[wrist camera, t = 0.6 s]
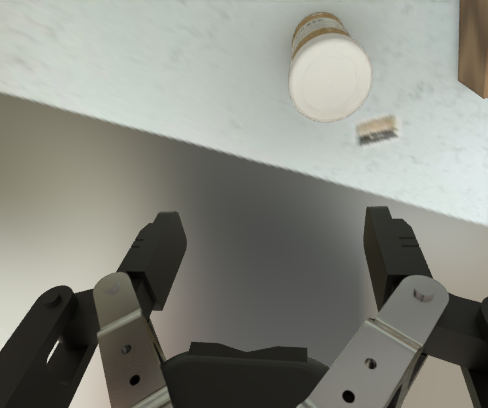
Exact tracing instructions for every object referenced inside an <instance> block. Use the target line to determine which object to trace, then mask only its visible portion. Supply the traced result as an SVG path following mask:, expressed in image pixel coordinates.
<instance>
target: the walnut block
mask: <svg viewBox="0 0 488 408" xmlns="http://www.w3.org/2000/svg"><path fill="white" fill-rule="evenodd" d="M458 81H459V82H461V83H462V84H464V85H465V86H466V87H468V88H469V89H471V90H472V91H473V92H475V93H476V94H478V95H479V96H480V97H482V98H483V99H485V98H488V0H460V22H459V66H458Z"/></svg>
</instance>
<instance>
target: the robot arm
mask: <svg viewBox="0 0 488 408" xmlns="http://www.w3.org/2000/svg"><path fill="white" fill-rule="evenodd" d="M363 238H364V239H363V241H364V250H365V255H366V260H367V264H368V268H369V273H370V278H371V282H372V286H373V291H374V295H375V300H376V304H377V309H378V314H377V316H376V317H375V318H374V319H371V318H369V319H367V320H366V321H365V322H364V324H363V325H362V326H361V328H360V329H359V330H358V332H357V333H356V334H355V336H354V337H353V338H352V339H351V341H350V342H349V343H348V345H347V346H346V347H345V349H344V350H343V352H342V353H341V354H340V355H339V357H338V358H337V360H336V361H335V362H334V363H333V365H332V366H331V367H330V368H329V367H328V366H326V365H324V364H323V363H321V362H319V361H317V360H315V359H312V358H309V357H307V348H300V347H280V346H278V347H272V348H266V349H262V350H256V351H251V352H244V351H240V350H237V349H234V348H231V347H228V346H225V345H222V344H219V343H203V342H191V345H190V349H189V351H187V352H184V353H181V354H178V355H176V356H174V357H172V358H170V359H169V360H166V358H165V356H164V353H163V351H162V348H161V346H160V343H159V340H158V337H157V335H156V333H155V330H154V327H153V324H152V322H151V319H150V314H151V312H152V310H155V311H162V310H163V307H164V305H165V302H166V300H167V297H168V295H169V292H170V290H171V287H172V284H173V282H174V279H175V277H176V274H177V272H178V269H179V267H180V264H181V261H182V259H183V256H184V254H185V251H186V247H187V239H186V235H185V232H184V229H183V226H182V223H181V220H180V217H179V214H178V212H176V211H175V212H160V213H158V215H157V217H156V219H155V220H154V222H153V223H149V224H148V225H147V226H145V227H144V228H143V229H142V230H141V231H140V232H139V234H138V236H137V237H136V239H135V241H134V242H133V244H132V246H131V248H130V250H129V251H128V253H127V255H126V256H125V258H124V259H123V261H122V263H121V265H120V267H119V268H118V270H117V271H116V273H112V274H109V275H107V276H105V277H104V278H102V279H101V280H100V281H99V282H98V283H97V284H96V285H95V287H94V289H90V290H86V291H82V292H79V293H73V291H72V289H71V288H70V287H68V286H63V285H62V286H57V287H54V288H51V289H50V290H48V291H46V292H45V293H43V294H42V295H41V296H40V297H39V298H38V299H37V300H36V302H35V303H34V305H33V306H32V307H31V309H30V310H29V312H28V313H27V314H26V316H25V317H24V319H23V320H22V322H21V323H20V324H19V326H18V327H17V329H16V330H15V331H14V333H13V334H12V336H11V337H10V338H9V340H8V341H7V343H6V344H5V345H4V347H3V348H2V350H1V351H0V408H68V407H69V405H70V403H71V401H72V399H73V397H74V394H75V392H76V390H77V388H78V386H79V384H80V382H81V379H82V377H83V375H84V373H85V371H86V368H87V366H88V364H89V362H90V360H91V358H92V356H93V354H94V351H95V349H96V347H97V345H98V343H99V348H100V353H101V358H102V363H103V368H104V373H105V378H106V383H107V388H108V393H109V398H110V403H111V408H401V406H402V404H403V401H404V399H405V397H406V395H407V393H408V391H409V389H410V388H411V386H412V384H413V382H414V381H415V379H416V377H417V375H418V373H419V371H420V370H421V368H422V366H423V364H424V363H425V361H426V359H427V357H428V355H430V356H433V357H436V358H439V359H442V360H445V361H448V362H451V363H454V364H457V365H460V366H461V370H462V373H463V376H464V379H465V382H466V385H467V388H468V391H469V394H470V397H471V400H472V403H473V406H474V408H488V297H487V298H485V299H484V300H483V301H482V303H480V302H476V301H472V300H469V299H465V298H461V297H458V296H455V295H453V294H450V293H448V292H447V290H446V288H445V287H444V286H443V285H442V284H440V283H439V282H438V281H436V280H434V279H433V277H432V275H431V272H430V270H429V268H428V265H427V263H426V260H425V259H424V256H423V253H422V251H421V249H420V247H419V244H418V242H417V240H416V237H415V234H414V232H413V230H412V228H411V226H410V225H408V224H407V223H406V222H405V221H404V220H403V219H392V217H391V215H390V212H389V209H388V207H387V206H379V207H378V206H377V207H367V209H366V217H365V227H364V237H363ZM57 340H58V341H59V343H58V345H57V347H56V349H55V351H54V353H53V354H52V356H51V358H50V359H49V361H48V363H47V358H48V356H49V354H50V352H51V351H52V349H53V347H54V345H55V344H56V342H57ZM46 364H47V365H46Z"/></svg>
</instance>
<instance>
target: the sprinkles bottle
mask: <svg viewBox="0 0 488 408" xmlns="http://www.w3.org/2000/svg"><path fill="white" fill-rule="evenodd" d="M372 80H373V72H372V65H371V62H370V59H369V58H368V56H367V54H366V52H365V51H364V49H363V48H362V47H361V46H360V45H359V43H358V42H357V41H355V40H354V39H352V38H351V36H350V35H349V34H348V32H347V31H346V30H345V29H344V27H343V25H342V23H341V22H340V21H339V19H338V18H336V17H335V16H333V15H332V14H329V13H325V12H318V13H315V14H311V15H310V16H308V17H306V18H305V19H303V20H302V22H301V23H300V24H299V25H298V26H297V28H296V31H295V33H294V35H293V40H292V63H291V66H290V69H289V79H288V86H289V93H290V97H291V100H292V102H293V104H294V105H295V107H296V108H297V109H298V111H299V112H300V113H301V114H303V115H304V116H306V117H307V118H309V119H312V120H315V121H319V122H334V121H338V120H341V119H344V118H346V117H348V116H349V115H351V114H352V113H354V112H355V111H356V110H357V109H358V108H359V107H360V106H361V105H362V104H363V102H364V101H365V100H366V98H367V96H368V94H369V92H370V89H371V85H372Z"/></svg>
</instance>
